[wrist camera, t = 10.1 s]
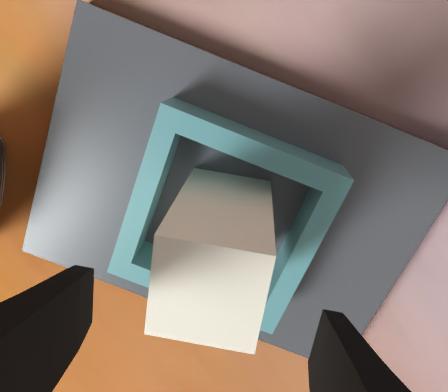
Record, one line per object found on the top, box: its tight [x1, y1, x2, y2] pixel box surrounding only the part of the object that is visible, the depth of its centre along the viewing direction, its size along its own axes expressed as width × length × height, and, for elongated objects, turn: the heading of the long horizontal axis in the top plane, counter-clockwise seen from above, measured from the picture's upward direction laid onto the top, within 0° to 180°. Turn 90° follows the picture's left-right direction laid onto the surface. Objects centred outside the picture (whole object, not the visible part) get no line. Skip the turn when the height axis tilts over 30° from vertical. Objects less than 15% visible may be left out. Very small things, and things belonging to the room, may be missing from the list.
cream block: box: [144, 168, 276, 354], centre depth 17 cm, size 4×4×8 cm
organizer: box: [22, 0, 448, 358], centre depth 20 cm, size 20×14×4 cm
